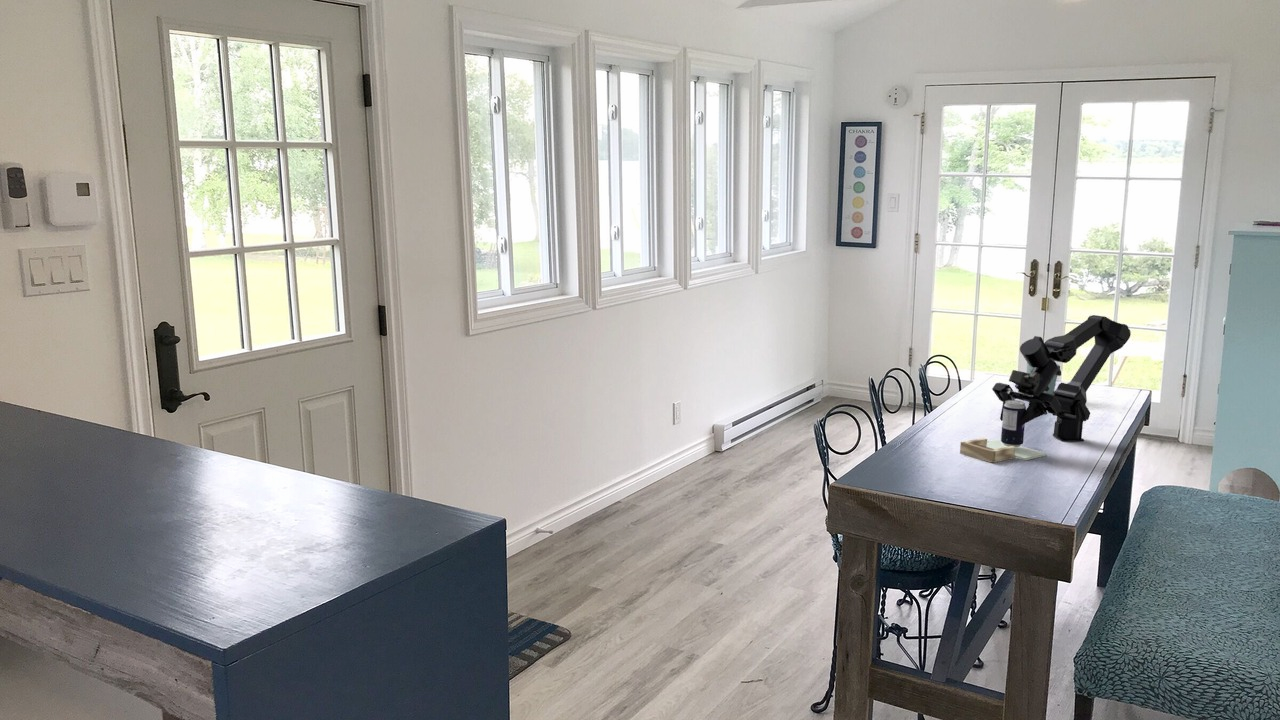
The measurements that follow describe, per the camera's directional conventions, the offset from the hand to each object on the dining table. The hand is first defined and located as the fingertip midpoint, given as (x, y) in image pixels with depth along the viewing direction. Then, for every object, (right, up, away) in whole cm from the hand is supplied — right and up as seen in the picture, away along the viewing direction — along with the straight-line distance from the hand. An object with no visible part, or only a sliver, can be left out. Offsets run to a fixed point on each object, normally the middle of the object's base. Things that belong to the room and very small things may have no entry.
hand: (1010, 422), depth 265 cm
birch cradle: (-7, -9, -2) cm, 11 cm away
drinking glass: (+35, +4, +66) cm, 74 cm away
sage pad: (+1, -8, +2) cm, 8 cm away
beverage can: (+1, -6, +2) cm, 7 cm away
